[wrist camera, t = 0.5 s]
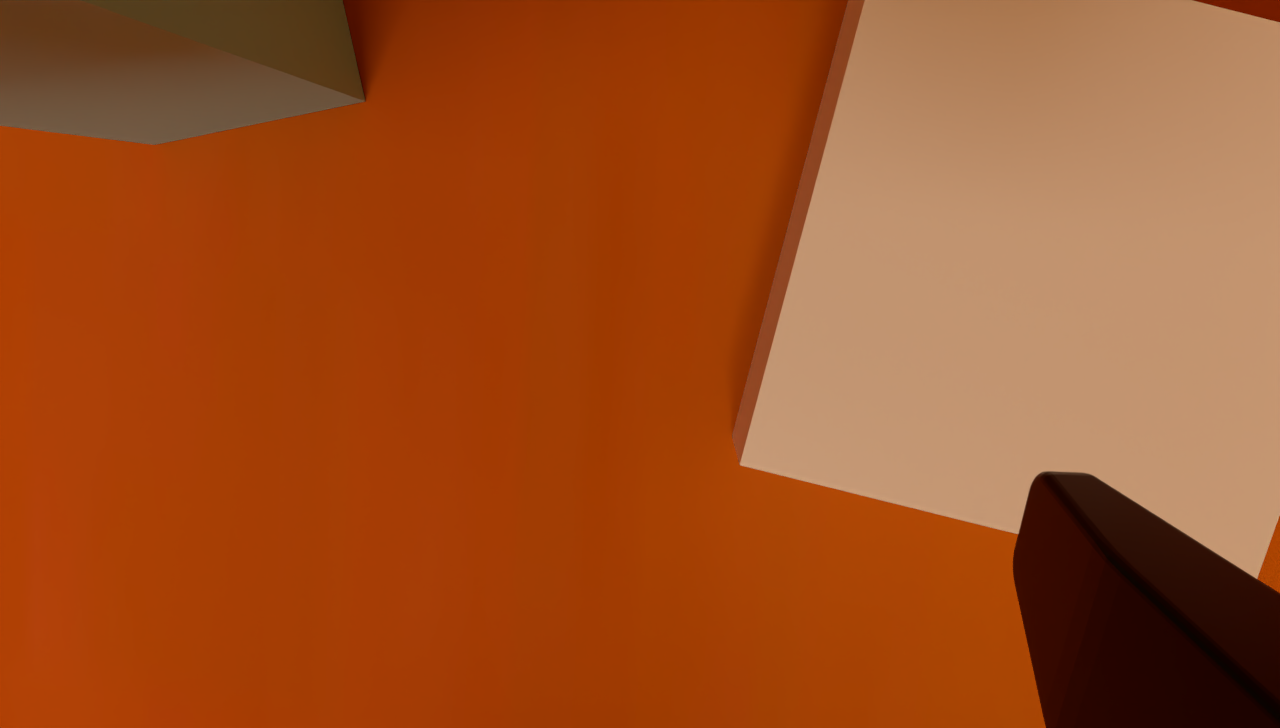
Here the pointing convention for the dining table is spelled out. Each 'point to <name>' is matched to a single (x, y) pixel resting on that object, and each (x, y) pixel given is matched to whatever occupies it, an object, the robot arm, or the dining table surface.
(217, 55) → the tall block
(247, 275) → the dining table surface
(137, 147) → the dining table surface
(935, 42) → the base plate
